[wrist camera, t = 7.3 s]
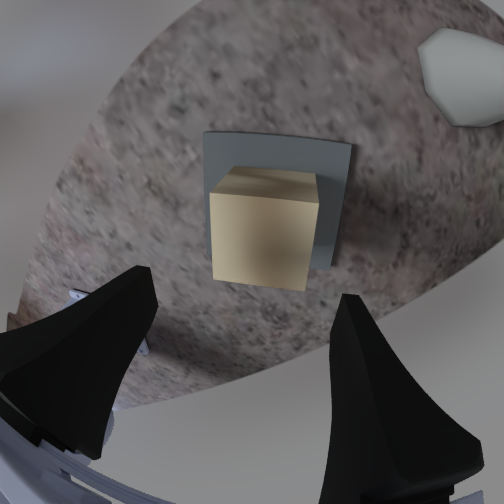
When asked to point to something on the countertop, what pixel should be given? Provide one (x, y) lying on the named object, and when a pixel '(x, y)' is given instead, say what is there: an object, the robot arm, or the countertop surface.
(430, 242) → the countertop surface
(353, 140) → the countertop surface
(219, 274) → the block
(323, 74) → the countertop surface
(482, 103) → the flask
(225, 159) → the coaster
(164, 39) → the countertop surface
